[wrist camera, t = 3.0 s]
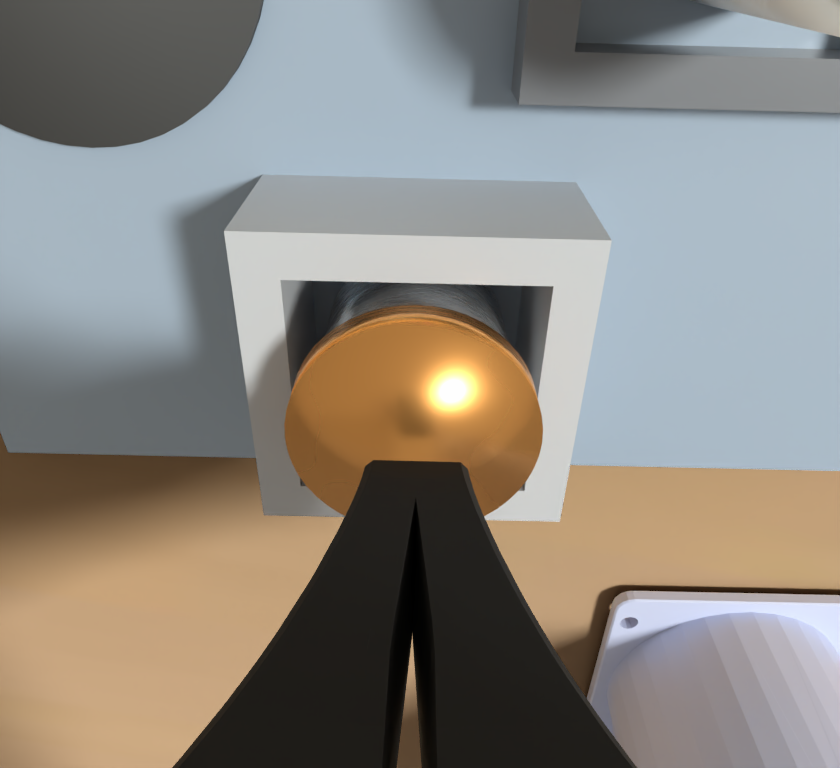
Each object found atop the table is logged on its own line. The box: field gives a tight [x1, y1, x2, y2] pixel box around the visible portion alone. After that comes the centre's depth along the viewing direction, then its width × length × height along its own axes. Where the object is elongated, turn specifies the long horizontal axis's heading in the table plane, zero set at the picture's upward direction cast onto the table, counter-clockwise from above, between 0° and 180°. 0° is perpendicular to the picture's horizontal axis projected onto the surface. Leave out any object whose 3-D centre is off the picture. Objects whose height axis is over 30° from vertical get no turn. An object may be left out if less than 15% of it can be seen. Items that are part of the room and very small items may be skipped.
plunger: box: [284, 282, 543, 516], centre depth 13 cm, size 4×4×4 cm
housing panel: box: [0, 0, 840, 522], centre depth 12 cm, size 16×22×4 cm
